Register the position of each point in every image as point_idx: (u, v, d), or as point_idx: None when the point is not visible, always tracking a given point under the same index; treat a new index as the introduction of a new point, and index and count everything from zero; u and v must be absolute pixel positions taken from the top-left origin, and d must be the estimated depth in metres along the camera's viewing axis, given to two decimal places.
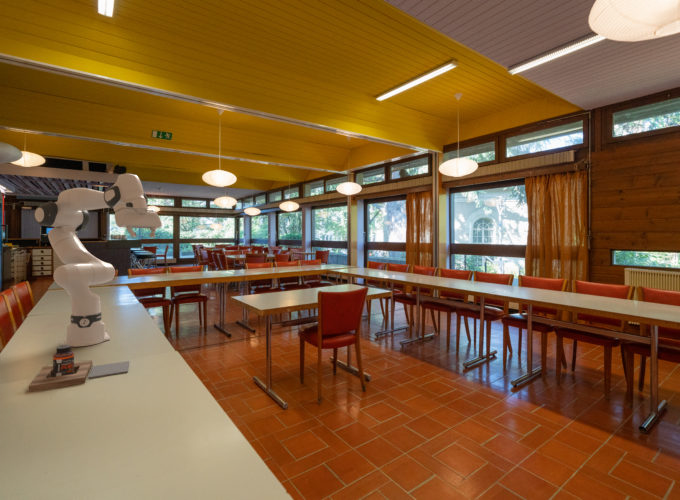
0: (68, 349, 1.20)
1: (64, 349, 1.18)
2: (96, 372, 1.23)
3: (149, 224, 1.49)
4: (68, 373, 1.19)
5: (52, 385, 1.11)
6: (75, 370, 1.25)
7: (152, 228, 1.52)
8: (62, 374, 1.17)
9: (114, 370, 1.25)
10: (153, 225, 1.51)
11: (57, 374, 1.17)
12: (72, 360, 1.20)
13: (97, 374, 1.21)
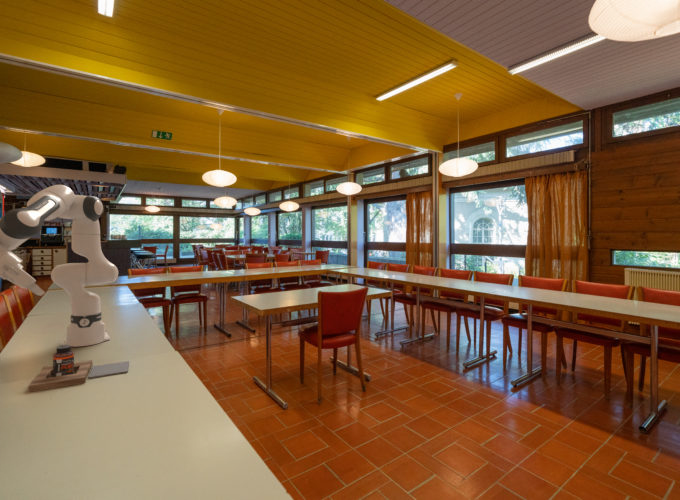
0: (68, 349, 1.20)
1: (64, 349, 1.18)
2: (96, 372, 1.23)
3: (22, 287, 1.10)
4: (68, 373, 1.19)
5: (52, 385, 1.11)
6: (75, 370, 1.25)
7: None
8: (62, 374, 1.17)
9: (114, 370, 1.25)
10: (23, 287, 1.09)
11: (57, 374, 1.17)
12: (72, 360, 1.20)
13: (97, 374, 1.21)
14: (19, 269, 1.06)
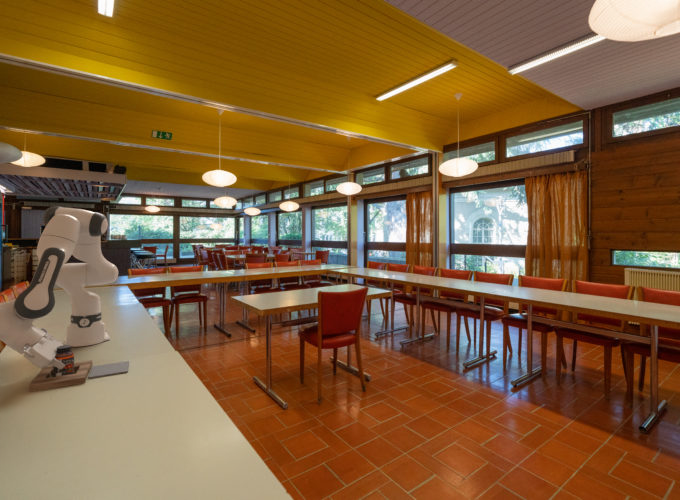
0: (68, 349, 1.20)
1: (64, 349, 1.18)
2: (96, 372, 1.23)
3: None
4: (68, 373, 1.19)
5: (52, 385, 1.11)
6: (75, 370, 1.25)
7: None
8: (62, 374, 1.17)
9: (114, 370, 1.25)
10: None
11: (57, 374, 1.17)
12: (72, 360, 1.20)
13: (97, 374, 1.21)
14: (35, 351, 1.09)
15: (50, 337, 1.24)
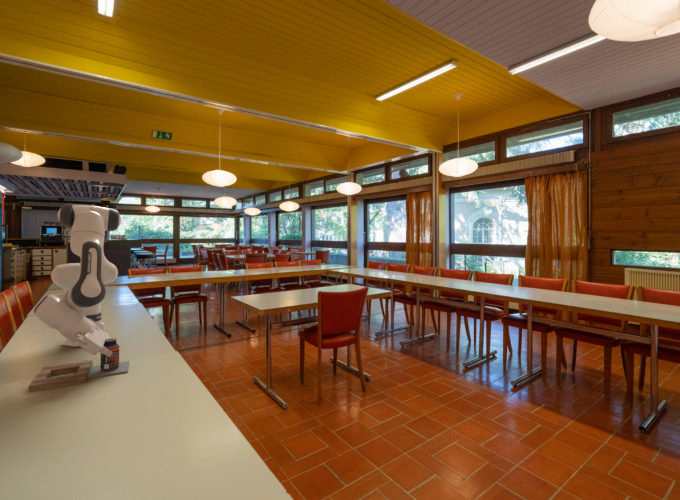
0: (114, 342, 1.27)
1: (111, 342, 1.25)
2: (96, 372, 1.23)
3: None
4: (114, 365, 1.26)
5: (52, 385, 1.11)
6: (75, 370, 1.25)
7: None
8: (109, 365, 1.25)
9: (114, 370, 1.25)
10: None
11: (105, 366, 1.24)
12: (118, 352, 1.27)
13: (97, 374, 1.21)
14: (87, 339, 1.16)
15: (96, 327, 1.31)
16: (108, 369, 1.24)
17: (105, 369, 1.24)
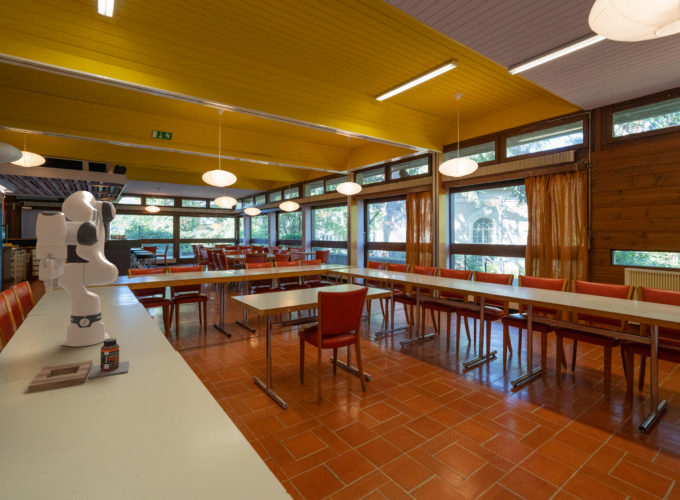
0: (114, 342, 1.27)
1: (111, 342, 1.25)
2: (96, 372, 1.23)
3: None
4: (114, 365, 1.26)
5: (52, 385, 1.11)
6: (75, 370, 1.25)
7: None
8: (109, 365, 1.25)
9: (114, 370, 1.25)
10: None
11: (105, 366, 1.24)
12: (118, 352, 1.27)
13: (97, 374, 1.21)
14: (50, 264, 1.18)
15: (62, 262, 1.33)
16: (108, 369, 1.24)
17: (105, 369, 1.24)
